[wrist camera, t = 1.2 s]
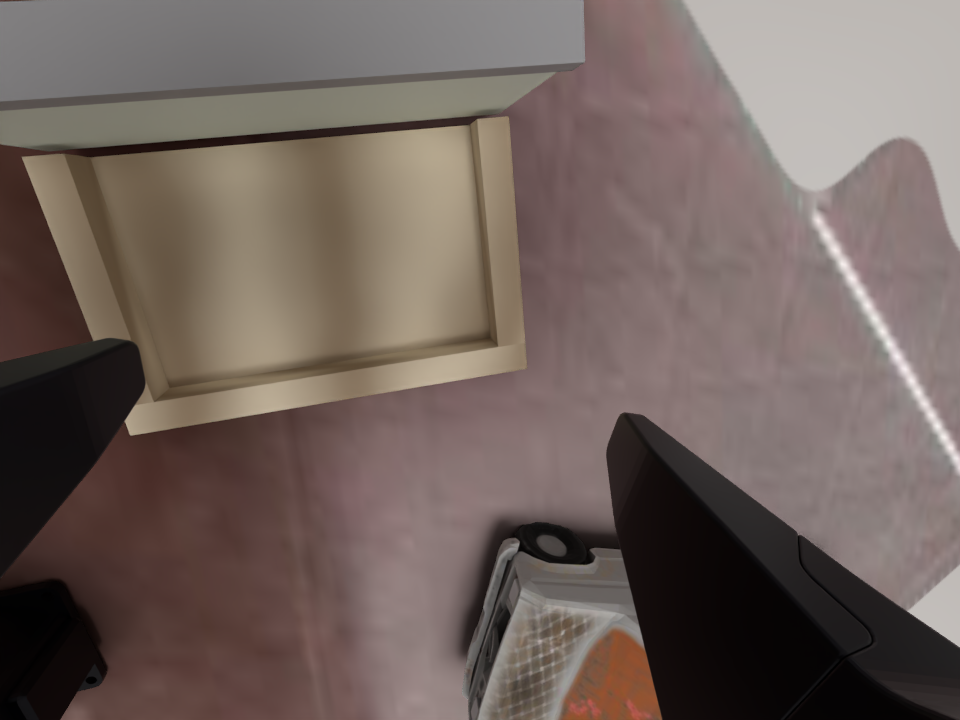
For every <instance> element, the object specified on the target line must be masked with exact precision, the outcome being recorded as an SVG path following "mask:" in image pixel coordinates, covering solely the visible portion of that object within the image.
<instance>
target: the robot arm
mask: <svg viewBox="0 0 960 720" xmlns="http://www.w3.org/2000/svg"><path fill="white" fill-rule="evenodd" d="M145 385H146V379H145V374H144V369H143V364H142V359H141V355H140V350H139V347H138V345H137V344H136V343H135V342H133V341H130V340H124V339H117V338H104V339H100V340H96V341H91V342H87V343H83V344H78V345H74V346H70V347H65V348H61V349H56V350H52V351H48V352H43V353H39V354H35V355H30V356H26V357H22V358H17V359H13V360H9V361H4V362H0V578H1V577H2V576H3V575H4V574H5V572H6V571H7V570H8V569H9V568H10V566H11V565H12V564H13V563H14V562H15V560H16V559H17V558H18V557H19V556H20V554H21V553H22V552H23V551H24V549H25V548H26V547H27V546H28V545H29V543H30V542H31V541H32V540H33V539H34V537H35V536H36V535H37V534H38V533H39V531H40V530H41V529H42V528H43V527H44V525H45V524H46V523H47V522H48V521H49V519H50V518H51V517H52V516H53V515H54V513H55V512H56V511H57V510H58V508H59V507H60V506H61V505H62V504H63V502H64V501H65V500H66V499H67V498H68V496H69V495H70V494H71V493H72V492H73V490H74V489H75V488H76V487H77V486H78V484H79V483H80V482H81V481H82V480H83V478H84V477H85V476H86V475H87V474H88V472H89V471H90V470H91V469H92V467H93V466H94V465H95V463H96V462H97V461H98V460H99V458H100V457H101V455H102V454H103V452H104V451H105V450H106V448H107V447H108V445H109V444H110V442H111V441H112V439H113V438H114V436H115V435H116V433H117V432H118V430H119V429H120V427H121V426H122V424H123V423H124V421H125V420H126V418H127V417H128V415H129V413H130V412H131V410H132V409H133V407H134V406H135V404H136V403H137V401H138V400H139V398H140V397H141V395H142V394H143V392H144V389H145ZM606 458H607V466H608V475H609V483H610V491H611V499H612V507H613V515H614V522H615V528H616V532H617V537H618V541H619V545H620V549H621V554H622V558H623V562H624V566H625V570H626V574H627V578H628V582H629V586H630V590H631V594H632V599H633V603H634V607H635V611H636V615H637V619H638V623H639V627H640V631H641V635H642V639H643V644H644V648H645V652H646V656H647V660H648V664H649V668H650V672H651V676H652V680H653V684H654V689H655V693H656V697H657V701H658V705H659V709H660V713H661V717H662V720H960V647H958V646H957V645H955V644H954V643H952V642H951V641H950V640H948V639H947V638H945V637H944V636H942V635H941V634H939V633H938V632H936V631H935V630H933V629H932V628H931V627H929V626H928V625H926V624H925V623H923V622H922V621H920V620H919V619H917V618H916V617H914V616H913V615H912V614H910V613H909V612H907V611H906V610H904V609H903V608H901V607H900V606H898V605H897V604H896V603H894V602H893V601H891V600H890V599H888V598H887V597H886V596H884V595H883V594H881V593H880V592H878V591H877V590H875V589H874V588H873V587H871V586H870V585H868V584H867V583H865V582H864V581H863V580H861V579H860V578H858V577H857V576H855V575H854V574H853V573H851V572H850V571H849V570H847V569H846V568H845V567H843V566H842V565H841V564H839V563H838V562H837V561H835V560H834V559H832V558H831V557H830V556H828V555H827V554H826V553H824V552H823V551H822V550H820V549H819V548H818V547H816V546H815V545H814V544H812V543H811V542H810V541H809V540H807V539H806V538H805V537H803V536H802V535H799V536H798V534H797V532H796V531H795V530H794V529H793V528H791V527H790V526H789V525H787V524H786V523H785V522H783V521H782V520H781V519H779V518H778V517H777V516H775V515H774V514H773V513H771V512H770V511H769V510H767V509H766V508H765V507H763V506H762V505H761V504H760V503H758V502H757V501H756V500H754V499H753V498H752V497H750V496H749V495H748V494H746V493H745V492H744V491H742V490H741V489H740V488H738V487H737V486H736V485H734V484H733V483H732V482H731V481H729V480H728V479H727V478H725V477H724V476H723V475H721V474H720V473H719V472H717V471H716V470H715V469H713V468H712V467H711V466H709V465H708V464H707V463H705V462H704V461H703V460H702V459H700V458H699V457H698V456H696V455H695V454H694V453H692V452H691V451H690V450H688V449H687V448H686V447H684V446H683V445H682V444H680V443H679V442H678V441H676V440H675V439H674V438H673V437H671V436H670V435H669V434H667V433H666V432H665V431H663V430H662V429H661V428H659V427H658V426H657V425H655V424H654V423H653V422H651V421H650V420H649V419H647V418H646V417H645V416H643V415H640V414H633V413H622V414H620V416H619V417H618V419H617V422H616V424H615V427H614V430H613V432H612V435H611V438H610V440H609V443H608V446H607V452H606ZM48 592H50V593H52V594H49V593H48ZM106 674H107V672H106V669H105V667H104V665H103V663H102V661H101V659H100V657H99V655H98V653H97V651H96V649H95V647H94V645H93V643H92V641H91V639H90V637H89V635H88V633H87V631H86V629H85V627H84V625H83V623H82V621H81V619H80V617H79V615H78V613H77V611H76V609H75V607H74V605H73V603H72V601H71V599H70V597H69V595H68V593H67V591H66V589H65V588H64V586H63V585H62V584H60V583H58V582H54V581H53V582H45V583H40V584H36V585H31V586H26V587H21V588H16V589H11V590H7V591H2V592H0V720H60V719H61V718H62V716H63V714H64V713H65V711H66V709H67V708H68V706H69V704H70V703H71V701H72V700H73V698H74V696H75V695H76V693H77V691H81V690H86V689H90V688H94V687H97V686H99V685H100V684H101V683H102V681H103V680H104V678H105V676H106Z"/></svg>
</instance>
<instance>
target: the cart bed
mask: <svg viewBox="0 0 960 720" xmlns="http://www.w3.org/2000/svg"><path fill="white" fill-rule="evenodd" d="M22 159H23V161H24V164H25V166H26V169H27V172H28V174H29V177H30V179H31V182H32V184H33V187H34V189H35V192H36V195H37V197H38V200H39V202H40V205H41V207H42V210H43V213H44V215H45V218H46V220H47V223H48V225H49V228H50V231H51V233H52V236H53V238H54V241H55V243H56V246H57V248H58V251H59V254H60V256H61V259H62V261H63V264H64V266H65V269H66V272H67V274H68V277H69V279H70V282H71V284H72V287H73V290H74V292H75V295H76V297H77V300H78V302H79V305H80V308H81V310H82V313H83V315H84V318H85V320H86V323H87V325H88V328H89V331H90V333H91V336H92V338H93V341H96V340H100V339H104V338H117V339H124V340H130V341H133V342H135V343H136V344H137V345H138V347H139V350H140V355H141V359H142V364H143V369H144V374H145V379H146V385H145V389H144V392H143V394H142V395H141V397H140V398H139V400H138V401H137V403H136V404H135V406H134V407H133V409H132V410H131V412H130V413H129V415H128V417H127V418H126V420H125V423H126V426H127V428H128V431H129V433H130V436H132V435H138V434H143V433H149V432H155V431H161V430H167V429H173V428H179V427H185V426H191V425H197V424H203V423H209V422H215V421H220V420H226V419H232V418H238V417H244V416H250V415H256V414H262V413H268V412H274V411H280V410H286V409H292V408H297V407H303V406H309V405H315V404H321V403H327V402H333V401H339V400H345V399H351V398H357V397H363V396H369V395H375V394H380V393H386V392H392V391H398V390H404V389H410V388H416V387H422V386H428V385H434V384H440V383H446V382H452V381H457V380H463V379H469V378H475V377H481V376H487V375H493V374H499V373H505V372H511V371H517V370H523V369H527V360H526V346H525V332H524V319H523V305H522V291H521V277H520V263H519V250H518V236H517V222H516V208H515V194H514V181H513V167H512V153H511V139H510V125H509V116H506V117H494V118H482V119H476V120H475V121H474V122H473V123H472V124H470V125H464V126H452V127H440V128H429V129H417V130H405V131H393V132H382V133H370V134H358V135H347V136H335V137H323V138H312V139H300V140H288V141H276V142H265V143H253V144H241V145H230V146H218V147H206V148H195V149H183V150H171V151H159V152H148V153H136V154H124V155H113V156H101V157H84V156H77V155H70V154H52V155H40V156H28V157H22Z"/></svg>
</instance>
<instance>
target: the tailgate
mask: <svg viewBox="0 0 960 720" xmlns="http://www.w3.org/2000/svg"><path fill="white" fill-rule="evenodd" d="M584 62H585V41H584V0H36V1H11V2H0V144H3V145H9V146H16V147H23V148H29V149H36V150H43V151H58V150H70V149H83V148H95V147H107V146H119V145H131V144H143V143H155V142H167V141H179V140H191V139H203V138H216V137H228V136H240V135H252V134H264V133H276V132H288V131H300V130H312V129H324V128H337V127H349V126H361V125H373V124H385V123H397V122H409V121H421V120H433V119H445V118H457V117H470V116H482V115H494V114H499V113H501V112H502V111H504V110H505V109H506V108H508V107H509V106H511V105H512V104H513V103H515V102H516V101H518V100H519V99H520V98H522V97H523V96H525V95H526V94H527V93H529V92H530V91H531V90H533V89H534V88H536V87H537V86H538V85H540V84H541V83H543V82H544V81H545V80H547V79H548V78H550V77H551V76H552V75H554V74H555V73H557V72H563V71H573V70H574V69H576V68H577V67H579V66H580V65H582V64H583V63H584Z"/></svg>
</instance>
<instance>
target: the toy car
mask: <svg viewBox="0 0 960 720" xmlns="http://www.w3.org/2000/svg"><path fill="white" fill-rule="evenodd" d="M462 695H463V696H464V697H465V698H466V699H468V700H469V701H468V712H469V720H662V717H661V713H660V709H659V705H658V701H657V697H656V693H655V689H654V684H653V680H652V676H651V672H650V668H649V664H648V660H647V656H646V652H645V648H644V644H643V639H642V635H641V631H640V627H639V623H638V619H637V615H636V611H635V607H634V603H633V599H632V594H631V590H630V586H629V582H628V578H627V574H626V570H625V566H624V562H623V558H622V554H621V550H618V549H605V548H592V549H589V552H588V556H587V552H586V549H585V546H584V544H583V543H582V541H581V540H580V539H579V538H578V537H577V535H575V534H574V533H573V532H572V531H570V530H569V529H568V528H564V527H562V526H559V525H553V524H549V523H542V522H535V523H532V524H527V525H523V526H522V527H521V528H520V529H519V530H518V532H517V533H516V536H515V538H508V539H506V540H504V541H503V543H502V545H501V546H500V548H499V551H498V555H497V558H496V562H495V565H494V569H493V572H492V576H491V579H490V583H489V586H488V590H487V593H486V597H485V600H484V605H483V610H482V614H481V617H480V620H479V623H478V626H477V627H476V629H475V632H474V635H473V638H472V641H471V644H470V647H469V650H468V654H467V661H466V668H465V675H464V681H463V688H462Z"/></svg>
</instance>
